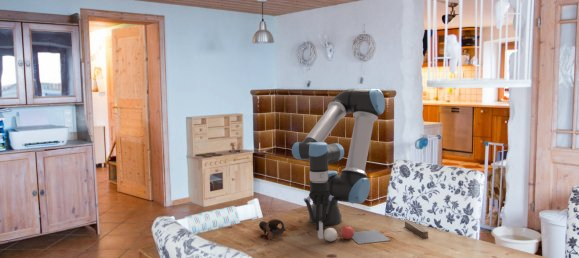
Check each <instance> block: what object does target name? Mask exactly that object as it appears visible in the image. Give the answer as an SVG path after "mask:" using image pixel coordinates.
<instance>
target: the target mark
mask: <svg viewBox="0 0 579 258" xmlns="http://www.w3.org/2000/svg"><path fill="white" fill-rule="evenodd" d="M351 239H352V240H353V241H354V242H355V243H356V244H357V245H362V244H373V243H382V242H383V243H384V242H391V239H390V238H389V237H387V236H385V235H384V234H383V233H382V232H380V231H379V230H377V229H372V230H371V229H370V230H363V231H361V230H360V231H354V236H353V237H352V238H351Z"/></svg>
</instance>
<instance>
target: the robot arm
mask: <svg viewBox="0 0 579 258" xmlns="http://www.w3.org/2000/svg"><path fill="white" fill-rule="evenodd" d="M385 110H386V101H385V97H384V93H383V92H382V91H381V90H380V89H378V88H349V89H345V90H343V91H341V92H340V93H339V94H337V95H335V96H334V97H333V98H332V99H331V101H329V103H328V104H327V109H326V110H325V112H324V113H323V114H322V116H321V117H320V119H319V120H318V121H317V122H316V124H315V125H314V126H313V128H312V129H311V130H310V132H308V134H307V135H306V137H305V138H304V139H303V140H302V141H298V142H294V143H293V144H292V147H291V154H292V157H293V158H294V159H295V160H301V161H308V162H309V180H310V181H309V194H308V197H304V198H303V201H304V203H305V204H306V208H307V211H308V217H309V218H308V219H309V220H308V221H309V222H310V223H311V224H314V227H315V230H316V231H317V238H318V239H319V240H323V239H324V231H325V230H326V226H333V225H338V224H340V223H341V222H342V221H343V219H342V218H343V217H342V213H341V211H340V210H341V209H340V207H339V203H338V202H342V203H350V204H356V205H358V204H360V205H361V204H362V203H364V202H365V201H366V200H367V198H368V196H369V194H370V191H371V190H370V189H371V181H370V180H369V178H368V175H367V173H366V165H367V162H368V161H367V160H368V154H369V150H370V143H371V138H372V135H373V128H374V122H376V121H377V120H378V119H379V115H382V114H383V113H384V112H385ZM348 114H352V115H353V117H354V123H353V124H354V125H353V130H352V135H351V139H350V144H349V149H348V154H347V160H346V165H345V168H343V169H341V173H340V175H339V174H338V171H336V170H329V164H331V163H337V162H338V161H340V160H343V158H344V156H345V149H344V147H343V145H341V144H340V143H334V142H333V143H329V144H328V143H327V142H325V141H326V139H327V138H328V136H329V135H330V134H331V132H332V131H333V130H334V128H335V127H336V126H337V124H338V123H339V121H340V120H342V119H344V118H345V117H346V115H348ZM311 201H312V205H311Z"/></svg>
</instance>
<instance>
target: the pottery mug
mask: <svg viewBox="0 0 579 258" xmlns="http://www.w3.org/2000/svg"><path fill="white" fill-rule="evenodd" d="M279 224H281V227H278V225H279ZM258 227H259V229H260V230H261V231H262V232H263V234H264V235H265V234H268V233H269V234H268V235H267V239H268V240H272V239H274V238H277V237H280V236H282V235H283V234H284V233H285V232H286V228H285V224H284V222H283V221H281V220H280V219H276V218H273V219H270V220H268V221H263V220H262V221H260V222H259V225H258Z"/></svg>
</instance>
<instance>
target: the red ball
mask: <svg viewBox="0 0 579 258" xmlns="http://www.w3.org/2000/svg"><path fill="white" fill-rule="evenodd" d="M354 232H355V230H354V228H352V227H351V226H348V225H345V226H343V227H342V228H341V230H340V236H341V238H343V239H344V240H351V239H352V237H353V236H354Z"/></svg>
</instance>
